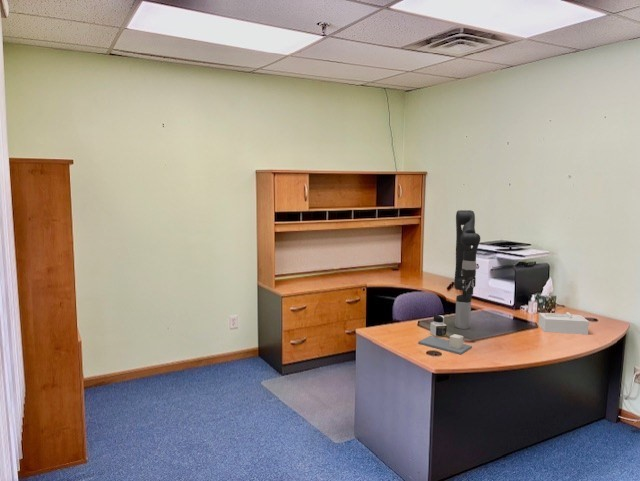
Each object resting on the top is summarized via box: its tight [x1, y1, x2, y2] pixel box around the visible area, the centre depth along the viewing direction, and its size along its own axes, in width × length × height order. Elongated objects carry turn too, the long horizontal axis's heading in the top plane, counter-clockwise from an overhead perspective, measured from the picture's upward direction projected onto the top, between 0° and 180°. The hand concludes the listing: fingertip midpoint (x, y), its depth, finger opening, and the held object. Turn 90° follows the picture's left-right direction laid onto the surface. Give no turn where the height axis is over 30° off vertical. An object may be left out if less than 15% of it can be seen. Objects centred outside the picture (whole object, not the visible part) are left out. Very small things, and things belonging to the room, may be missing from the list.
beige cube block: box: [449, 333, 465, 349], centre depth 266 cm, size 6×6×6 cm
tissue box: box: [538, 311, 590, 336], centre depth 301 cm, size 14×25×11 cm, turn 79°
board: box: [417, 335, 473, 355], centre depth 271 cm, size 14×26×6 cm, turn 48°
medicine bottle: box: [429, 314, 448, 338], centre depth 289 cm, size 7×7×12 cm
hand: (467, 295), depth 272 cm, fingers open, 8 cm apart
